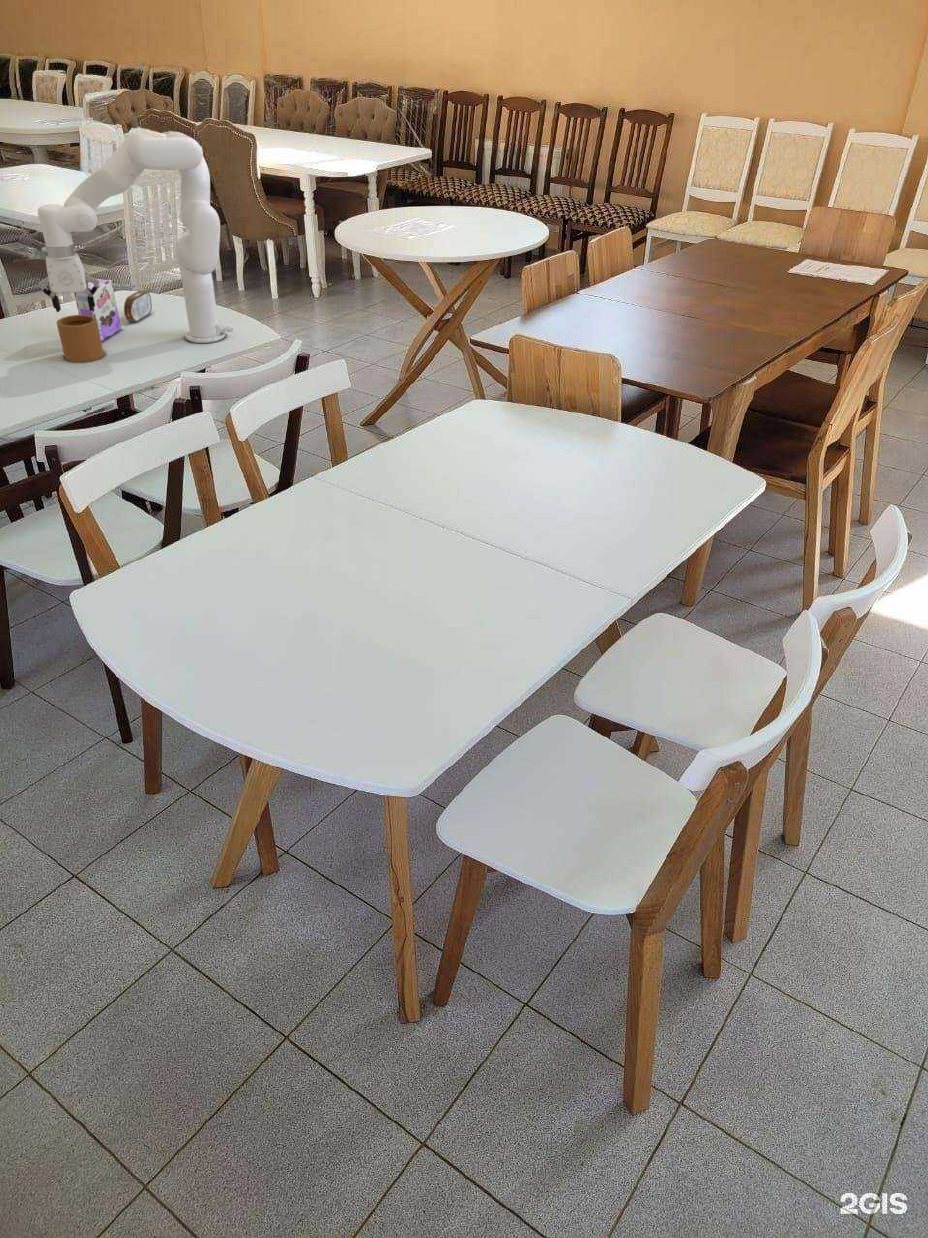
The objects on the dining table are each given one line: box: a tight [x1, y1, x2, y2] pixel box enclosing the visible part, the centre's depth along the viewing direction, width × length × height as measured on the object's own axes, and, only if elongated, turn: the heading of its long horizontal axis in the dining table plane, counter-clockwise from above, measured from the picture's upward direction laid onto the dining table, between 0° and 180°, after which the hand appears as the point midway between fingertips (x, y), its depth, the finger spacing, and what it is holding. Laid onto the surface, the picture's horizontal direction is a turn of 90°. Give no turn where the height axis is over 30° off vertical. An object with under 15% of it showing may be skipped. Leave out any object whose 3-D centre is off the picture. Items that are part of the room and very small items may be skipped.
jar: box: [56, 314, 105, 363], centre depth 281 cm, size 11×11×11 cm
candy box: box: [73, 278, 122, 342], centre depth 295 cm, size 14×6×16 cm, turn 168°
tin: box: [123, 290, 153, 323], centre depth 312 cm, size 15×3×8 cm, turn 169°
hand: (75, 309), depth 276 cm, fingers open, 9 cm apart
